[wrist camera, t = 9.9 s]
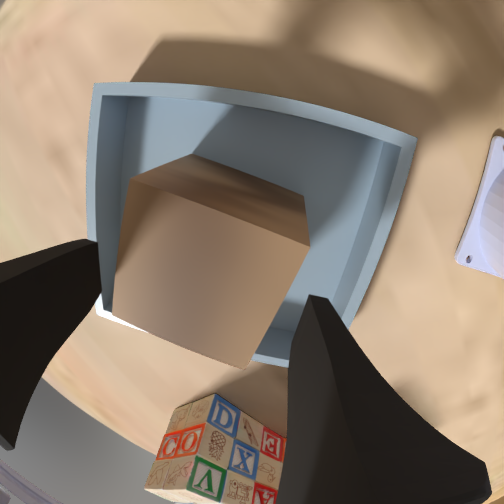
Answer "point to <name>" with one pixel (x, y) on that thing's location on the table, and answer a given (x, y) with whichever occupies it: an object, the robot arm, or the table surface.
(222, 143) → the tray
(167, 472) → the stack of blocks
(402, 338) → the table surface
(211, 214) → the walnut block
